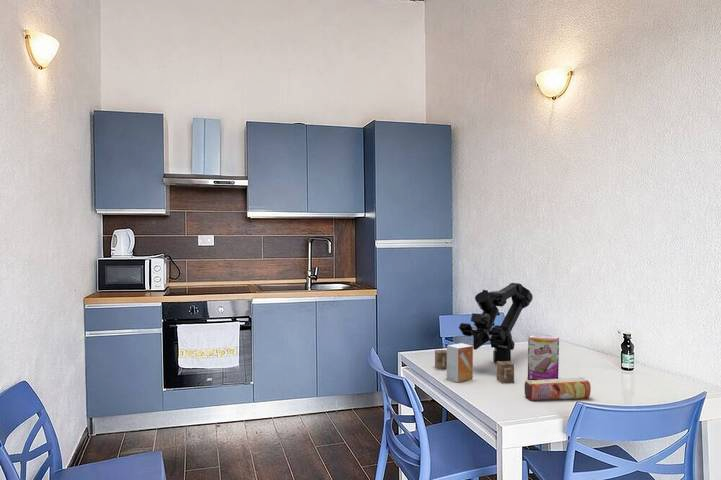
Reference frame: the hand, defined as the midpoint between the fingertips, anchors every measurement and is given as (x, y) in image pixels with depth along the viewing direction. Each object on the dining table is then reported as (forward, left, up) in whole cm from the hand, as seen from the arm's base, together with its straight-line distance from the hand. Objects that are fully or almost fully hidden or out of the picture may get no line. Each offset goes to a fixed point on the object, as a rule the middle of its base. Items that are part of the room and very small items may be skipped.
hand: (474, 349), depth 211 cm
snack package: (-20, +32, -10) cm, 39 cm away
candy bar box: (-24, +10, -10) cm, 28 cm away
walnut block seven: (-9, +11, -10) cm, 17 cm away
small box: (+8, +8, -10) cm, 15 cm away
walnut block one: (+11, -9, -10) cm, 17 cm away
